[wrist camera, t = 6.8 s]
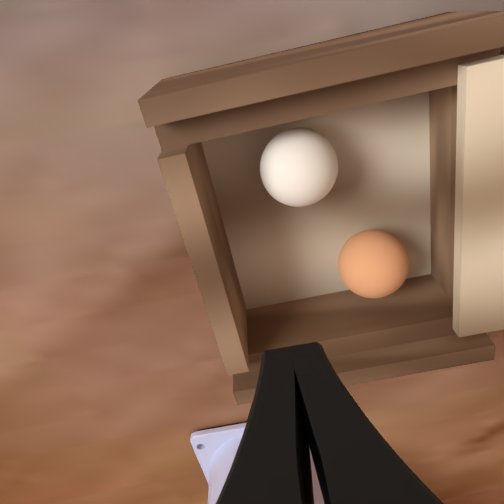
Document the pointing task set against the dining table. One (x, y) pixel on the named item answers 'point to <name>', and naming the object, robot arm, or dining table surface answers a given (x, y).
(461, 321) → the lid
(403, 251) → the ball
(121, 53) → the dining table surface
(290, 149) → the ball
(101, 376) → the dining table surface
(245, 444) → the robot arm
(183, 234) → the box
